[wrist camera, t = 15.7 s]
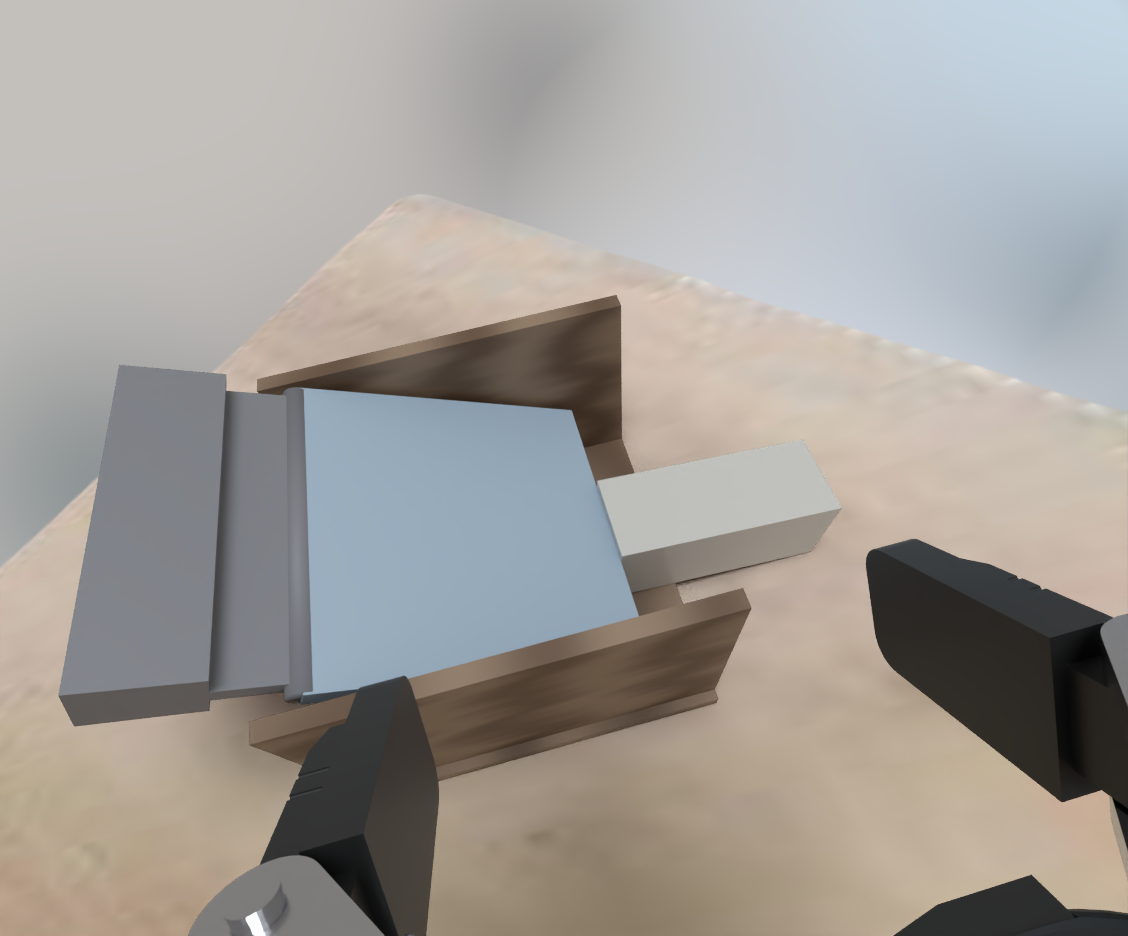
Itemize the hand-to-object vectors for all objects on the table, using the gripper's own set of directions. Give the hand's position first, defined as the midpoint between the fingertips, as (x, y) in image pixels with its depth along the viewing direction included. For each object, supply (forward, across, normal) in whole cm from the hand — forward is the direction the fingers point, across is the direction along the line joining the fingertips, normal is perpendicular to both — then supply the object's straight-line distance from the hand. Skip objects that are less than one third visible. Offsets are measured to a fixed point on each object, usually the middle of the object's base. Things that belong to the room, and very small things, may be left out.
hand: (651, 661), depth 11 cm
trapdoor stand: (+26, +3, +8) cm, 28 cm away
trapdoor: (+20, +8, +2) cm, 22 cm away
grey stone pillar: (+24, -2, +6) cm, 25 cm away
